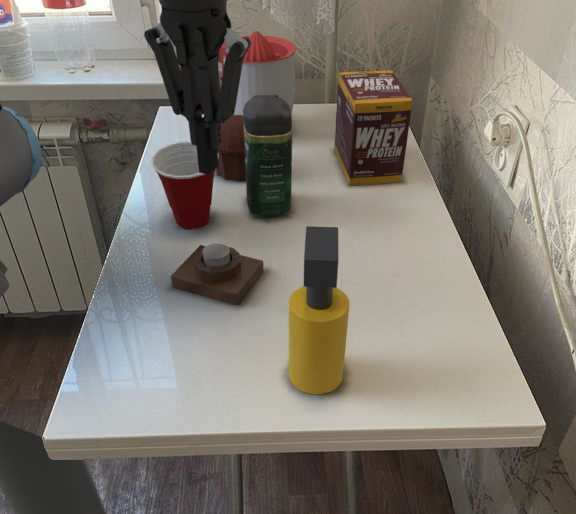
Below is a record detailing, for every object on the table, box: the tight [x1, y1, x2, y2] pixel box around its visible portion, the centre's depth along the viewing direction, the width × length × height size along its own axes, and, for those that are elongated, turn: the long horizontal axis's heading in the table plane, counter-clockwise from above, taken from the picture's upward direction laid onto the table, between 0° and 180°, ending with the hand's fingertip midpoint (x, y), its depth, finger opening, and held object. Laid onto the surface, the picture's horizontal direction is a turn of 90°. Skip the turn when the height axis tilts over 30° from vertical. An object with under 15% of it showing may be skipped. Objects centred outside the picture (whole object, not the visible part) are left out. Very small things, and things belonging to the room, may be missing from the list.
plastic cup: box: [150, 140, 216, 230], centre depth 102 cm, size 11×11×12 cm
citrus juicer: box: [218, 30, 297, 115], centre depth 126 cm, size 16×17×20 cm
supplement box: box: [333, 70, 414, 186], centre depth 116 cm, size 10×15×16 cm
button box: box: [170, 244, 265, 307], centre depth 93 cm, size 11×9×4 cm
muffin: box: [215, 115, 246, 182], centre depth 117 cm, size 12×11×10 cm
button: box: [203, 242, 230, 267], centre depth 91 cm, size 4×4×2 cm
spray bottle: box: [288, 225, 350, 395], centre depth 73 cm, size 8×7×20 cm
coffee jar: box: [243, 95, 293, 219], centre depth 104 cm, size 10×8×19 cm
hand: (208, 169), depth 82 cm, fingers closed
